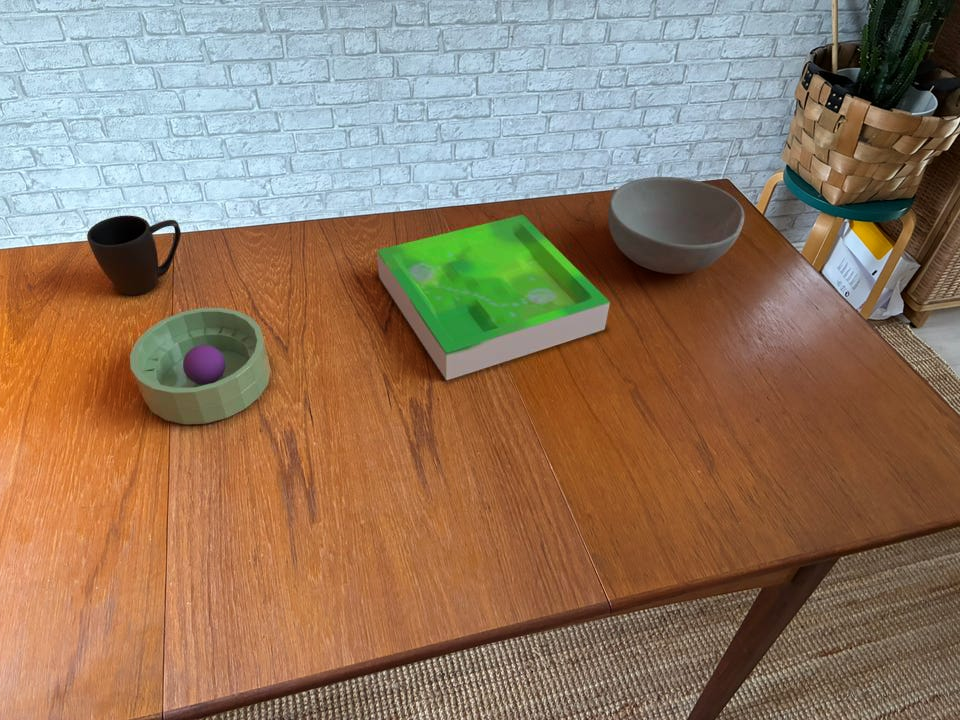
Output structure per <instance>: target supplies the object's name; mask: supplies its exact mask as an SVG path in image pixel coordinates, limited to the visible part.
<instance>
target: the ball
mask: <svg viewBox="0 0 960 720" xmlns="http://www.w3.org/2000/svg"><path fill="white" fill-rule="evenodd" d="M183 369H184V372H185V374H186V376H187V377H188V378H189V379H190V380H191V381H193V382H195V383H197V384H202V385H206V384H211V383H214V382H216V381H217V380H218V379H219V378H220V377H221V376H222V375H223V373H224V371H225V359H224V357H223V355H222V353H221V352H220V351H219V350H218V349H216V348H214V347H212V346H209V345H200V346H196V347H194V348H192V349H191V350H190V351H189V352H188V353H187V354H186V356H185V358H184V360H183Z"/></svg>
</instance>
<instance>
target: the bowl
mask: <svg viewBox="0 0 960 720" xmlns="http://www.w3.org/2000/svg"><path fill="white" fill-rule="evenodd" d="M607 221H608V228H609V231H610V235H611V237H612V239H613V242H614V243H615V245H616V246H617V248H618V249H619V250H620V251H621V253H622V254H623V255H624V256H626V257H627V258H628V259H629V260H631V261H632V262H634V263H635V264H637V265H638V266H640V267H642V268H645V269H646V270H647V269H648V270H650V271H652V272H653V271H654V272H658V273H662V274H663V273H664V274H672V275H682V274H689V273H694V272H698V271H700V270H703V269H706V268H708V267H709V266H710V265H713V264H714V263H715V262H717V260H718V259H720V258H721V257H722V256H724V255H725V254H726V253H727V252H728V251H729V250H730V249H731V247H733V245H734V244H735V242H736V241H737V240H738V238H739V236H740V234H741V232H742V230H743V226H744V223H745V210H744V209H743V206H742V205H741V203H740V202H739V200H738V199H736V198H735V197H734V195H732V194H730V193H729V192H727V191H725V190H723V189H721V188H720V187H717V186H714V185H713V184H709V183H706V182H702V181H699V180H694V179H690V178H683V177H676V176H675V177H674V176H651V177H644V178H638V179H635V180H631V181H629V182H627V183H624V184H623V185H621V186H619V187H618V188H617V189H616V190H615V191H613V193H612V195H611V197H610V200H609V203H608V210H607Z"/></svg>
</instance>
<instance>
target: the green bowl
mask: <svg viewBox="0 0 960 720" xmlns="http://www.w3.org/2000/svg"><path fill="white" fill-rule="evenodd" d="M200 345H209V346H212V347H214V348H216V349H218V350H219V351H220V352H221V353H222V355H223V357H224V359H225V371H224V373H223V375H222V376H221V377H220V378H219V379H218V380H217V381H216V382H214V383H211V384H206V385H202V384H197V383H195V382H193V381H191V380H190V379H189V378H188V377H187V376H186V374H185V372H184V369H183V360H184V358H185V356H186V354H187V353H188V352H189V351H190V350H191V349H192V348H194V347H196V346H200ZM129 365H130V371H131V373H132V376H133V378H134V380H135V382H136V386H137V387H138V390H139V392H140V395H141V396H142V400H143V401H144V403H145V405H146V406H147V407H148V409H149V410H150V411H151V413H153V414H154V415H156V416H158V417H160V418H161V419H163V420H165V421H168V422H172V423H176V424H181V425H206V424H209V423H213V422H217V421H221V420H224V419H228V418H230V417H232V416H234V415H236V414H238V413H240V412H242V411H244V410H245V409H247V408H248V407H249V406H251V405H252V404H253V403H254V402H255V401H257V400H258V399H259V398H260V397H261V395H262V394H263V392H264V391H265V389H266V388H267V386H268V385H269V382H270V377H271V372H272V369H271V364H270V360H269V355H268V351H267V348H266V343H265V339H264V335H263V331H262V328H261V326H260V325H259V324H258V323H257V322H256V321H255V320H254V319H253V317H252V316H251V317H250V316H249V315H247V314H245V313H243V312H241V311H238V310H235V309H231V308H230V309H229V308H225V307H199V308H194V309H189V310H184V311H181V312H178V313H176V314H173V315H171V316H168V317H166V318H163V319H161V320H160V321H158V322H156V323H155V324H153V325H152V326H150V327H149V328H147V329H146V330H145V331H144V332H143V334H141V336H140V337H138V339H137V340H136V341H135V342H134V345H133V347H132V349H131V351H130V354H129Z"/></svg>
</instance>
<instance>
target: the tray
mask: <svg viewBox="0 0 960 720" xmlns="http://www.w3.org/2000/svg"><path fill="white" fill-rule="evenodd" d="M376 255H377V268H378V270H377V271H378V278H379V280H380V281H381V282H382V284H383V286H384V287H385V288H386V290H387V292H388V293H389V295H390V296H391V298H392V299H393V301H394V302H395V304H396V306H397V307H398V309H399V310H400V312H401V313H402V315H403V316H404V318H405V320H406V321H407V322H408V324H409V325H410V327H411V328H412V330H413V332H414V333H415V335H416V336H417V338H418V339H419V341H420V342H421V345H422V346H423V347H424V349H425V350H426V352H427V354H429V356H430V358H431V359H432V361H433V362H434V364H435V365H436V367H437V369H439V372H440V373H441V375H442V376H443V378H444V380H445V381H449V380H452V379H456V378H459V377H462V376H466V375H468V374H471V373H475V372H478V371H481V370H485V369H487V368H490V367H493V366H496V365H500V364H502V363H506V362H508V361H512V360H515V359H518V358H521V357H524V356H527V355H531V354H534V353H537V352H539V351H542V350H545V349H549V348H552V347H554V346H555V347H556V346H558V345H561V344H564V343H567V342H571V341H572V340H577V339H580V338H582V337H586V336H589V335H592V334H595V333H598V332H601V331H604V330H605V329H606V325H607V319H608V314H609V309H610V305H611V301H609V300H608V298H606V296H604V294H603V293H602V292H601V291H599V289H598V288H597V287H596V286H595V285H593V284H592V282H591V281H590V280H589V279H588V278H587V277H586V276H585V275H584V274H583V273H582V272H581V271H580V270H579V269H578V268H577V267H576V266H574V264H573V263H572V262H571V261H569V260H568V258H566V256H564V255H563V253H562V252H561V251H560V250H559V249H558V248H557V247H556V246H555V245H554V244H553V243H552V242H551V241H550V240H549V239H548V238H547V237H546V236H545V235H544V234H543V233H542V232H541V231H540V230H539V229H538V228H536V226H535V225H534V224H532V222H531V221H530V220H528V219H527V217H526V216H524V215H523V214H519V215H516V216H512V217H507V218H504V219H500V220H495V221H492V222H491V221H490V222H487V223H483V224H479V225H473V226H471V227H466V228H462V229H459V230H454V231H450V232H445V233H442V234H437V235H434V236H430V237H424V238H421V239H417V240H413V241H409V242H404V243H401V244H397V245H392V246H388V247H383V248H380V249H376Z"/></svg>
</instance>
